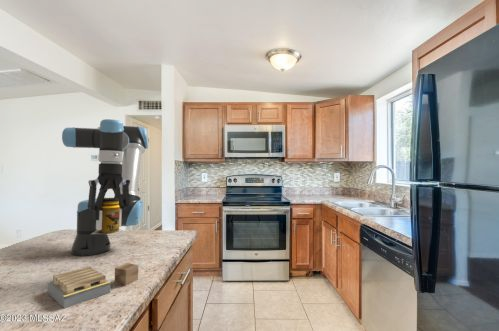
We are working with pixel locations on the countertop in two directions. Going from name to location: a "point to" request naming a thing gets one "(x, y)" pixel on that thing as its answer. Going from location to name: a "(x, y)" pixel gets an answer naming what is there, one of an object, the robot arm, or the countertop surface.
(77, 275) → the pallet
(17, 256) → the countertop surface
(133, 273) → the brown cube
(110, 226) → the condiment
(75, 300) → the dock
